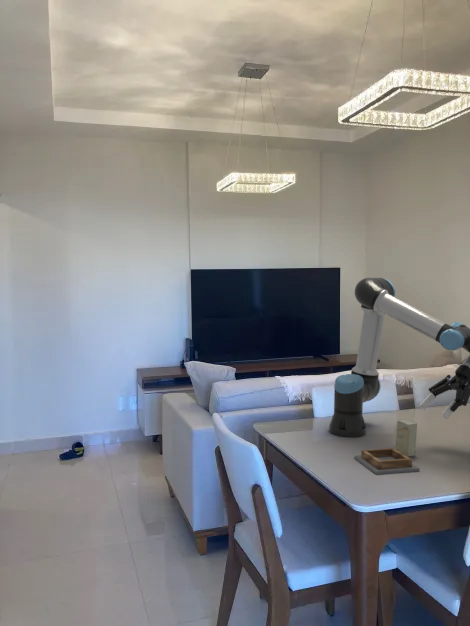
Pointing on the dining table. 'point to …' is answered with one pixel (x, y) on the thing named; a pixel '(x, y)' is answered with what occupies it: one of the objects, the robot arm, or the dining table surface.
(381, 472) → the slate tray
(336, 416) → the robot arm
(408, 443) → the skincare box
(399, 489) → the dining table surface
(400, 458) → the walnut collar
